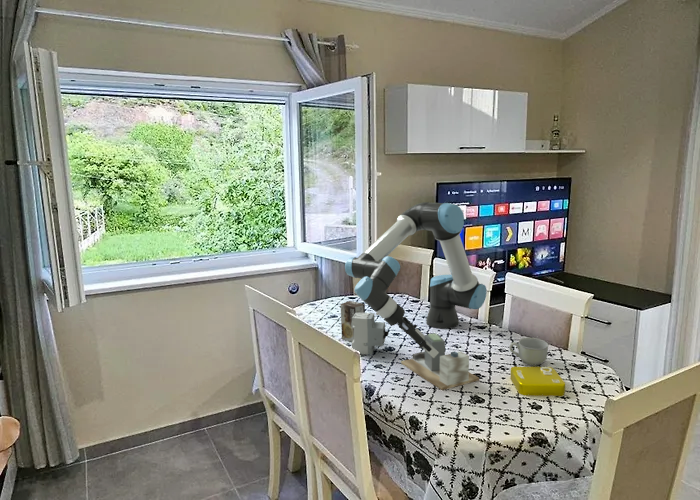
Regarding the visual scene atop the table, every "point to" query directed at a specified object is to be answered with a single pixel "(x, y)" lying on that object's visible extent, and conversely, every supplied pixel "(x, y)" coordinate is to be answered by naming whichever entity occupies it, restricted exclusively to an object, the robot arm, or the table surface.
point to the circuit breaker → (367, 333)
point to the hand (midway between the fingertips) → (431, 348)
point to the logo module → (439, 346)
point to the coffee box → (349, 318)
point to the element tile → (537, 381)
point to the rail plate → (433, 376)
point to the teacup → (531, 350)
